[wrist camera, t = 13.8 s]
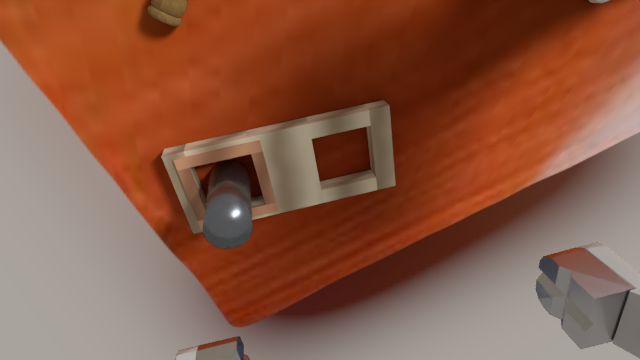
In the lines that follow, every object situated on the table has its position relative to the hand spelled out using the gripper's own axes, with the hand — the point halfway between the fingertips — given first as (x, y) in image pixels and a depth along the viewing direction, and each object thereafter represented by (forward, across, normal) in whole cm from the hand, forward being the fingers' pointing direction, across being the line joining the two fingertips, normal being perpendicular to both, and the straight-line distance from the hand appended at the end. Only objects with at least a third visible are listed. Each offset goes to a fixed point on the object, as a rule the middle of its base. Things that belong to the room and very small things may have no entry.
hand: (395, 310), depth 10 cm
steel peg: (+33, +8, +12) cm, 36 cm away
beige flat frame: (+33, +2, +12) cm, 35 cm away
